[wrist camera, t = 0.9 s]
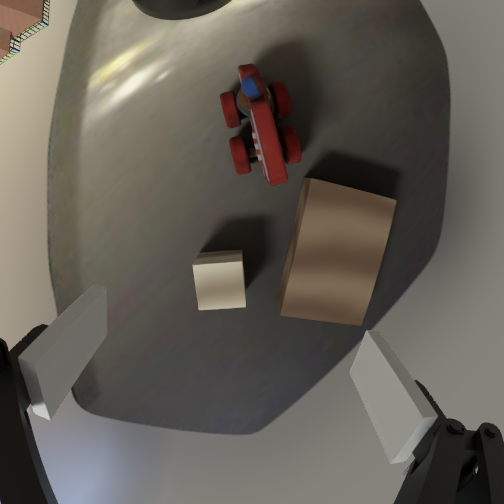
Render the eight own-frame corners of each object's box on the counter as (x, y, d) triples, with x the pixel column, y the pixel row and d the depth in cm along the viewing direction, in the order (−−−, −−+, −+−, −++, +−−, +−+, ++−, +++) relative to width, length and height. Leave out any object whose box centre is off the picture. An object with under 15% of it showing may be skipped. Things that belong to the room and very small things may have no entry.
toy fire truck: (276, 72, 31) (290, 37, 21) (300, 175, 34) (324, 177, 24) (216, 84, 31) (207, 51, 21) (239, 187, 34) (238, 194, 24)
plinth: (303, 177, 34) (311, 178, 30) (381, 197, 35) (396, 200, 31) (276, 300, 38) (280, 315, 34) (351, 311, 39) (361, 325, 35)
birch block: (199, 252, 36) (192, 265, 31) (242, 249, 36) (242, 261, 31) (204, 292, 37) (198, 310, 32) (245, 289, 37) (245, 307, 33)
